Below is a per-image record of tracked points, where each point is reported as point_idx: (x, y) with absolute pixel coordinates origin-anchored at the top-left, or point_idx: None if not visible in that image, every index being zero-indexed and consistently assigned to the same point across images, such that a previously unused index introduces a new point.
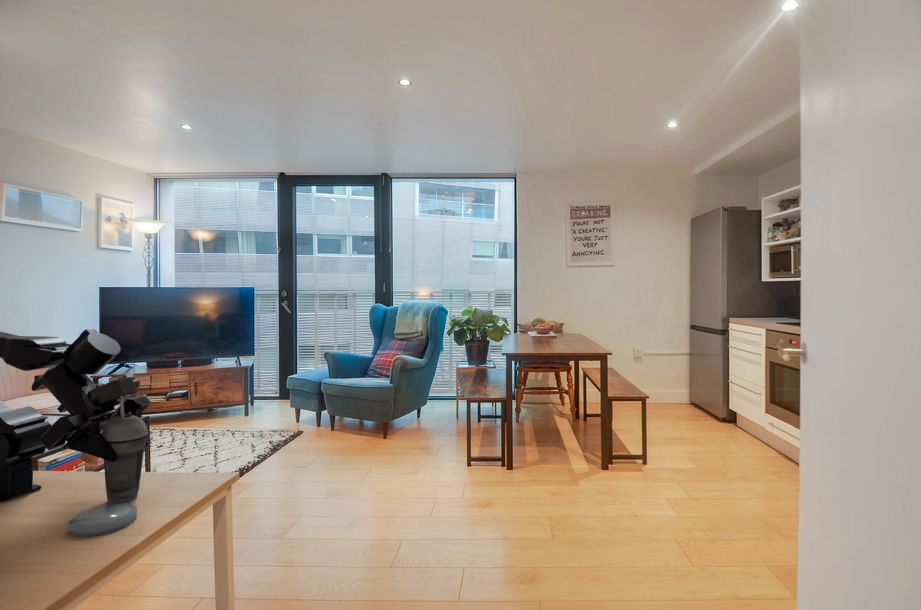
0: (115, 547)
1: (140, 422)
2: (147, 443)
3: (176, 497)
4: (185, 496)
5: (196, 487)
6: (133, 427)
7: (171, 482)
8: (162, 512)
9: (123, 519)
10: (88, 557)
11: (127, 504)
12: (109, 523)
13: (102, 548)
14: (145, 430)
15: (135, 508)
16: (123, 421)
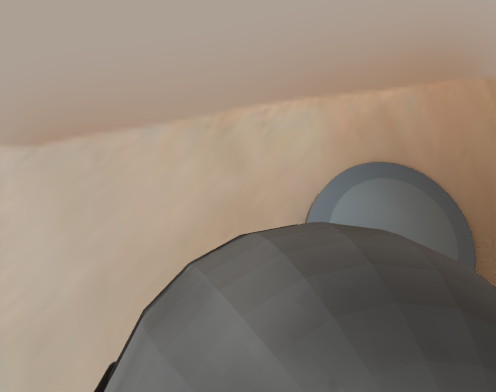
0: (437, 110)
1: (292, 265)
2: (112, 367)
3: (178, 189)
4: (163, 168)
5: (86, 189)
6: (405, 242)
7: (60, 319)
8: (275, 148)
9: (383, 166)
10: (485, 127)
11: None
12: (413, 181)
13: (453, 132)
14: (229, 245)
15: (324, 195)
16: None
